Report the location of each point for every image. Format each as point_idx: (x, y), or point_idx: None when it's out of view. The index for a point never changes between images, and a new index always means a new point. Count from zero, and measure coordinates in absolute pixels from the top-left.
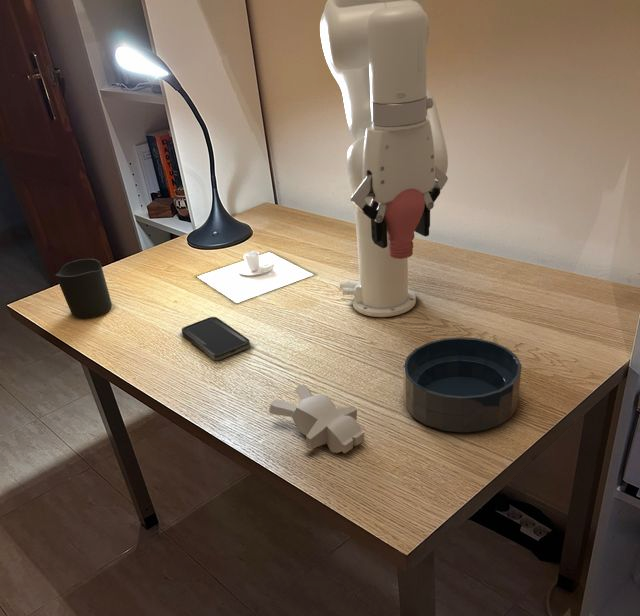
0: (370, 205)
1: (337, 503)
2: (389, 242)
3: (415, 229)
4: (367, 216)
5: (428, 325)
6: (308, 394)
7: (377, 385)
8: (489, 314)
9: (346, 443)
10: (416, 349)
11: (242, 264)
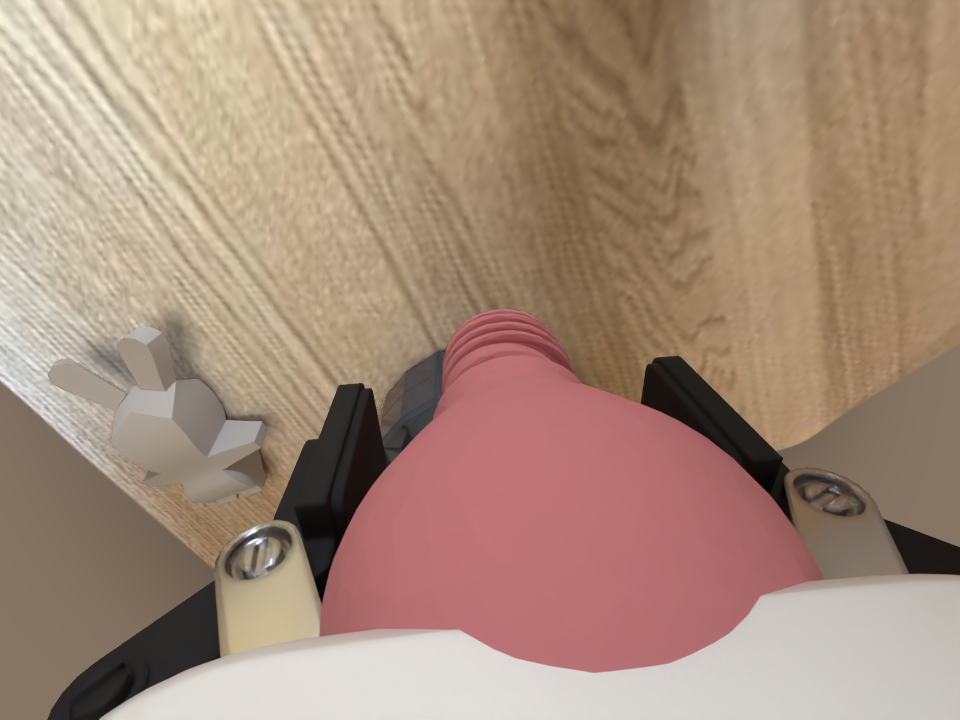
0: (223, 646)
1: (201, 548)
2: (448, 382)
3: (651, 378)
4: (211, 586)
5: (622, 102)
6: (153, 373)
7: (356, 318)
8: (795, 145)
9: (223, 502)
10: (437, 400)
11: None
